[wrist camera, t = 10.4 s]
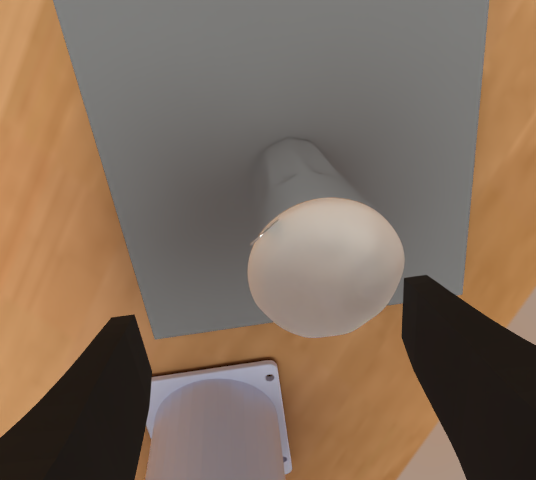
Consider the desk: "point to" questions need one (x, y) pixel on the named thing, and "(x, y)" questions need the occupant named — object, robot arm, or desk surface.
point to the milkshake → (317, 245)
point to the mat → (275, 129)
